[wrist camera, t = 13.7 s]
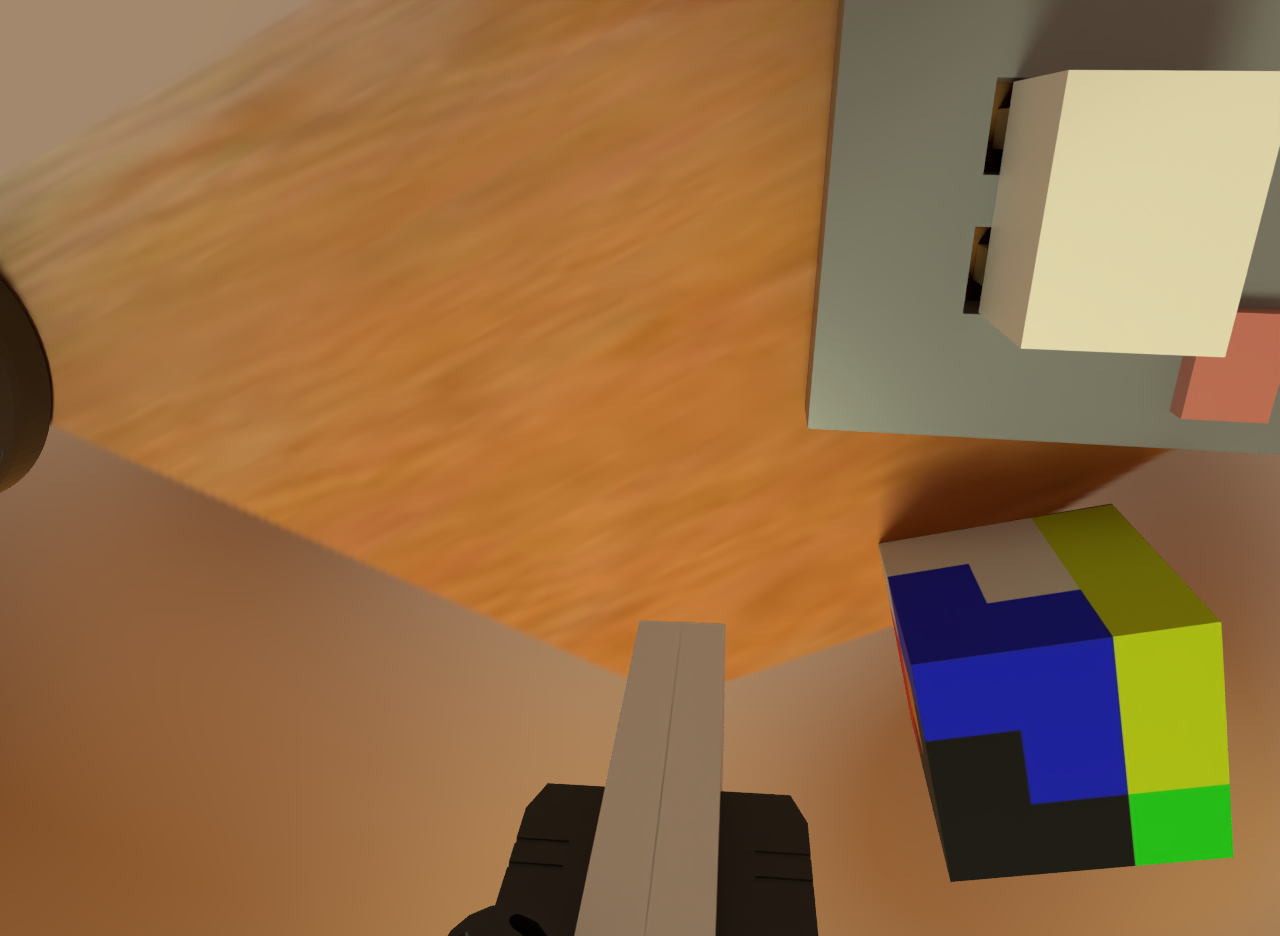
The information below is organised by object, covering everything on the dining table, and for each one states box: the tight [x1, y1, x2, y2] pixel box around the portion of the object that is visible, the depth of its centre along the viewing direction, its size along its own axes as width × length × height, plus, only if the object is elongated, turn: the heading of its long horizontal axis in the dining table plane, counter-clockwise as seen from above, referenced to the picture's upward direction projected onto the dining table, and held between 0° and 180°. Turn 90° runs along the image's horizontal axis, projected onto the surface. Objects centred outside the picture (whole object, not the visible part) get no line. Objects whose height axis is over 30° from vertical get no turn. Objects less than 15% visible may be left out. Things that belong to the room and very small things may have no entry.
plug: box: [973, 70, 1280, 357], centre depth 30 cm, size 6×8×9 cm
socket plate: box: [805, 0, 1280, 455], centre depth 32 cm, size 18×18×4 cm
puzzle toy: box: [879, 504, 1233, 882], centre depth 36 cm, size 10×10×10 cm
